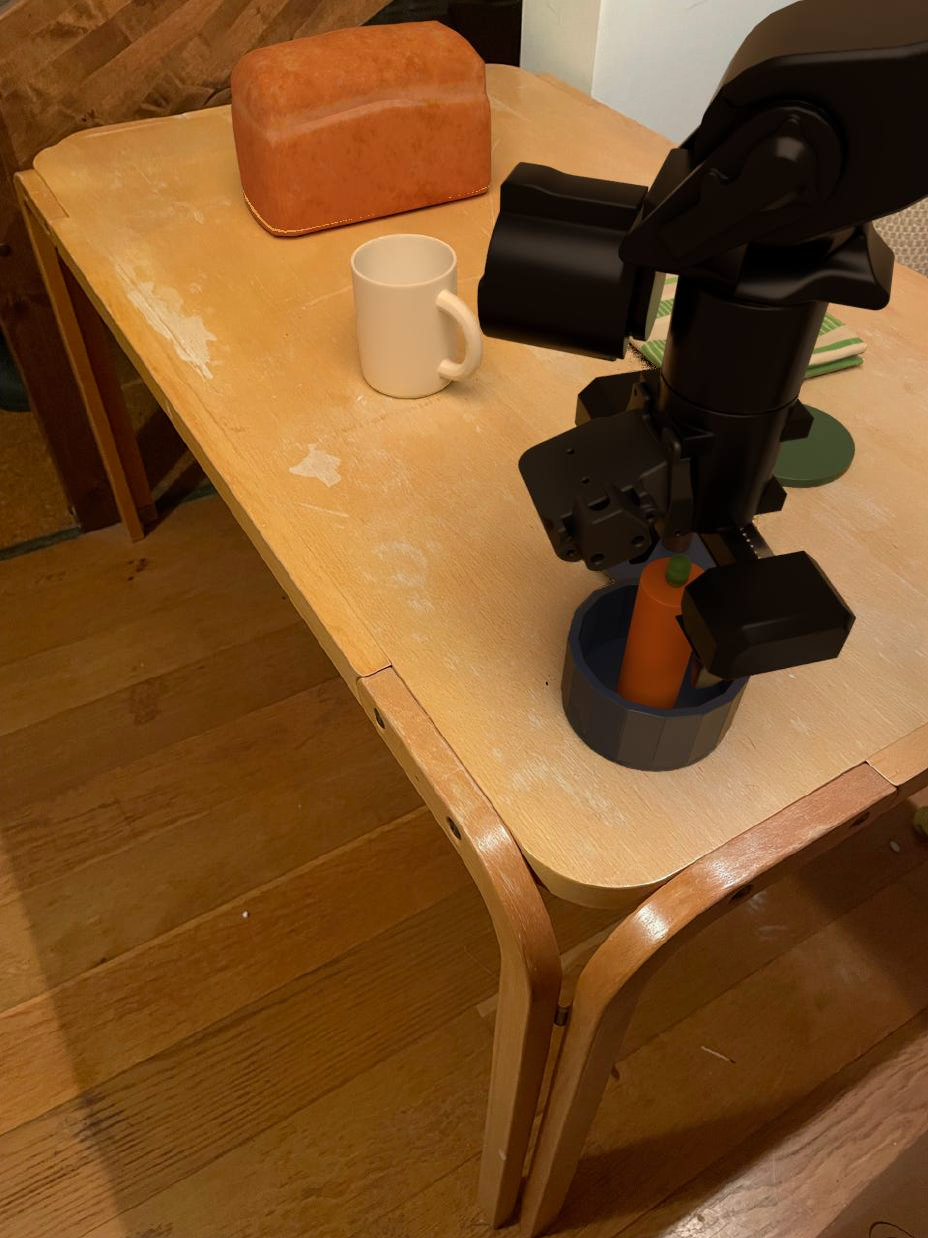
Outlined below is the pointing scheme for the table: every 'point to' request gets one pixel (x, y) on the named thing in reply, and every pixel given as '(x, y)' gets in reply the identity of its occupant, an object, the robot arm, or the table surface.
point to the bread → (360, 124)
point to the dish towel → (829, 353)
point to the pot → (626, 725)
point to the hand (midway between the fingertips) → (667, 620)
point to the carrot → (657, 635)
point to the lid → (666, 556)
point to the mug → (411, 316)
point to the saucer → (816, 454)
